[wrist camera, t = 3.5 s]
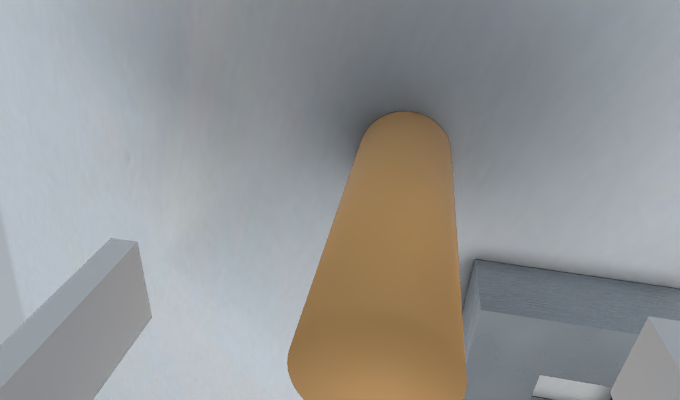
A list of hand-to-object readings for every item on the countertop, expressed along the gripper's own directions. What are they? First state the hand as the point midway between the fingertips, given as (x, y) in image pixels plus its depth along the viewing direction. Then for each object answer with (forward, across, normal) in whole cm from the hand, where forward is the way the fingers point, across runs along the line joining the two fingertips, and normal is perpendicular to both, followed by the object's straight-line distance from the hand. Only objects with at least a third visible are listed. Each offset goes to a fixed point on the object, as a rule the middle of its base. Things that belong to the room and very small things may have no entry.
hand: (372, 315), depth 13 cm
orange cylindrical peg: (+10, 0, 0) cm, 10 cm away
